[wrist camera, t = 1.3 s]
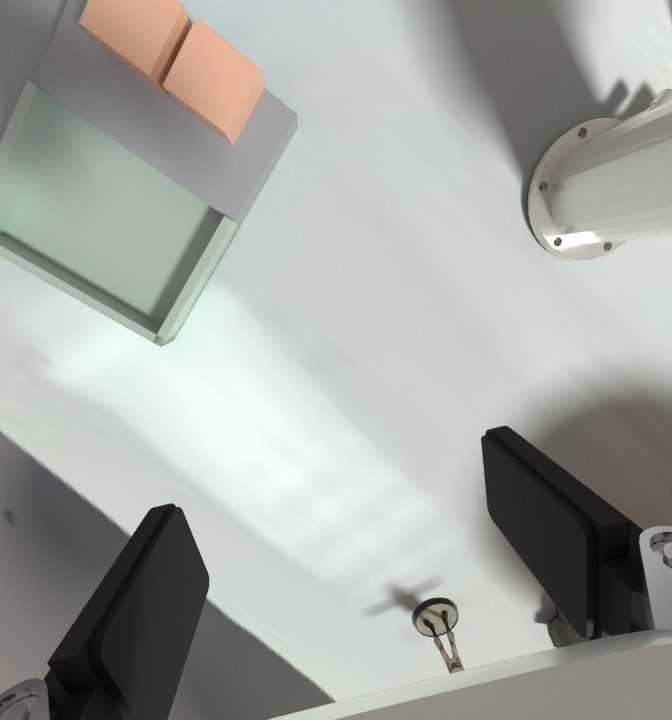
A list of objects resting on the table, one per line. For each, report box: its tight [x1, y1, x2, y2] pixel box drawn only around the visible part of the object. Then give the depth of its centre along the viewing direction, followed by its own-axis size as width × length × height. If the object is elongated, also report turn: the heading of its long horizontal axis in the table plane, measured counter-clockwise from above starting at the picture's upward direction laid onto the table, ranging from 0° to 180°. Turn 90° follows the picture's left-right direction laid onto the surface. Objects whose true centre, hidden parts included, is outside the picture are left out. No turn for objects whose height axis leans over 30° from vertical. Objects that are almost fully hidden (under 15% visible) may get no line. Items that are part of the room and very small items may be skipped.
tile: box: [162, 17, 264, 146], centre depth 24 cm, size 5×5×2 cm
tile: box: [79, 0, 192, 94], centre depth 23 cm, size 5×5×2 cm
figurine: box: [412, 598, 465, 674], centre depth 40 cm, size 11×7×12 cm, turn 116°
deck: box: [33, 0, 297, 226], centre depth 27 cm, size 10×17×2 cm, turn 56°
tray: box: [0, 80, 240, 347], centre depth 28 cm, size 13×17×3 cm
